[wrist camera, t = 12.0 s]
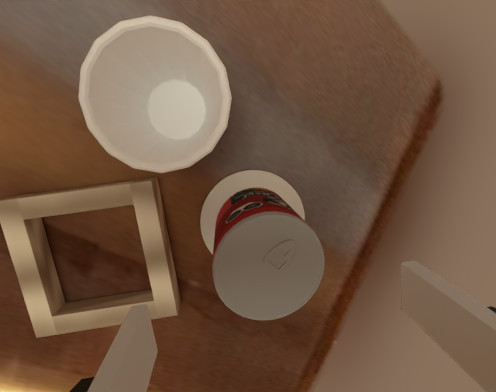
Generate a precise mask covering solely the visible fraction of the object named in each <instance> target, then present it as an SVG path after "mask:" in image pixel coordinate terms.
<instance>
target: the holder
mask: <svg viewBox="0 0 496 392" xmlns="http://www.w3.org/2000/svg"><path fill="white" fill-rule="evenodd" d="M127 205H134V208H135V213H136V218H137V222H138V227H139V232H140V237H141V241H142V246H143V251H144V255H145V260H146V265H147V270H148V274H149V279H150V284H151V288H152V289H151V290H144V291H138V292H131V293H125V294H118V295H112V296H105V297H99V298H92V299H86V300H79V301H73V302H66V303H65V300H64V296H63V293H62V289H61V285H60V282H59V278H58V275H57V271H56V268H55V264H54V261H53V257H52V253H51V250H50V246H49V243H48V239H47V236H46V232H45V229H44V225H43V222H42V218H41V217H47V216H54V215H62V214H69V213H76V212H84V211H91V210H98V209H105V208H113V207H120V206H127ZM0 223H1V226H2V229H3V233H4V236H5V239H6V242H7V245H8V249H9V252H10V255H11V258H12V261H13V264H14V268H15V271H16V274H17V277H18V280H19V284H20V287H21V290H22V293H23V296H24V300H25V303H26V306H27V309H28V312H29V316H30V319H31V322H32V325H33V328H34V332H35V335H36V338H38V337H44V336H51V335H57V334H63V333H69V332H76V331H82V330H88V329H94V328H101V327H107V326H113V325H119V324H122V323H123V321H124V320H125V318H126V316H127V314H128V312H129V310H130V308H131V306H136V305H142V304H147V306H148V310H149V315H150V319H157V318H163V317H169V316H176V315H178V311H179V308H180V304H181V299H180V294H179V288H178V283H177V278H176V273H175V267H174V262H173V257H172V252H171V246H170V241H169V236H168V231H167V226H166V220H165V215H164V210H163V205H162V199H161V194H160V189H159V184H158V178H157V177H154V178H147V179H139V180H132V181H124V182H117V183H109V184H102V185H94V186H87V187H79V188H72V189H64V190H56V191H49V192H41V193H34V194H26V195H19V196H13V197H9V198H5V199H2V200H0Z"/></svg>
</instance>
